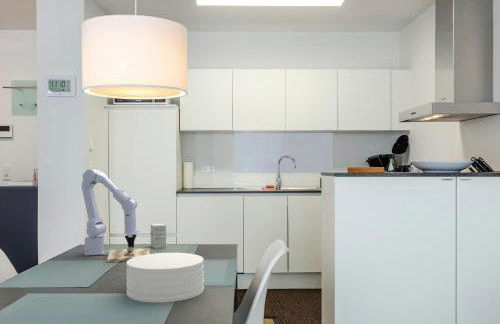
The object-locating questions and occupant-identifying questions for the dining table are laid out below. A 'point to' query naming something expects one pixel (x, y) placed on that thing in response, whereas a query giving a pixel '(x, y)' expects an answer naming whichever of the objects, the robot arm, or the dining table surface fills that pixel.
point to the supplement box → (158, 235)
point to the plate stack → (165, 277)
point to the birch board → (126, 254)
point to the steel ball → (129, 249)
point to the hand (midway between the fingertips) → (131, 249)
